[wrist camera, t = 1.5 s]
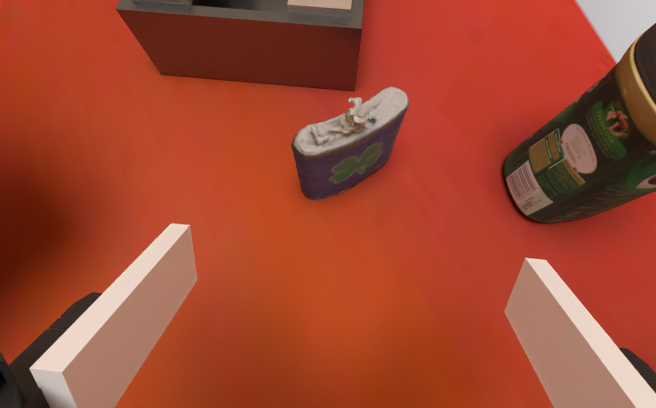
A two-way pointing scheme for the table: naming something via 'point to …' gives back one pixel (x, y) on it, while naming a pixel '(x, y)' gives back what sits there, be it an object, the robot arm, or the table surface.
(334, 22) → the open box
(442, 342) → the table surface
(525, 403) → the table surface
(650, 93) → the coffee jar
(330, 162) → the flask
